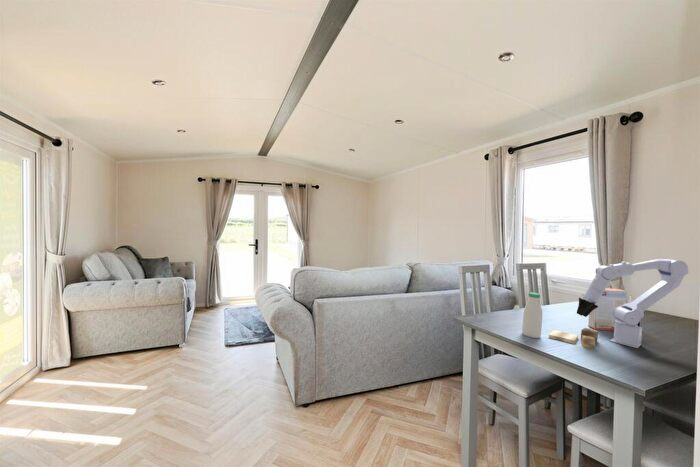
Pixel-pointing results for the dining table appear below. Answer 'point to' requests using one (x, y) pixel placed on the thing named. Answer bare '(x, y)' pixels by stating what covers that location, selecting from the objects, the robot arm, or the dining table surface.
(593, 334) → the walnut cube
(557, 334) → the base board
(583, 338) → the oak cube
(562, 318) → the dining table surface
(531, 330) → the milk bottle
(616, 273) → the robot arm
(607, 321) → the cracker box
